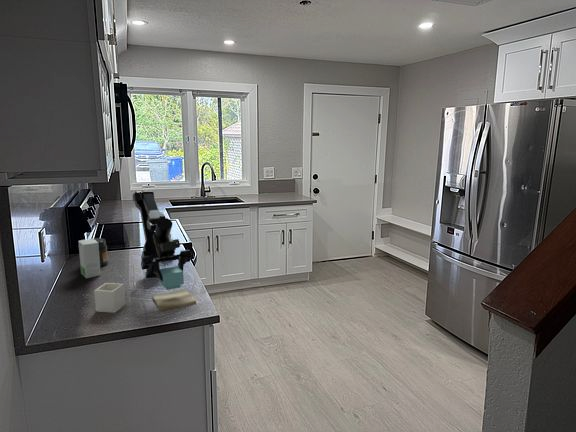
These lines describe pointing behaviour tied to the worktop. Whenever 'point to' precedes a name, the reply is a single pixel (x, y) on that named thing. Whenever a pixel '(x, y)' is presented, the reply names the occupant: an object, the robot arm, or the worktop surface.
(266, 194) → the worktop surface
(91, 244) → the skincare box
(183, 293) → the oak board
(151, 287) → the worktop surface
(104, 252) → the supplement container
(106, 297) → the cream storage box
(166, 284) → the aqua cube
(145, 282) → the worktop surface
